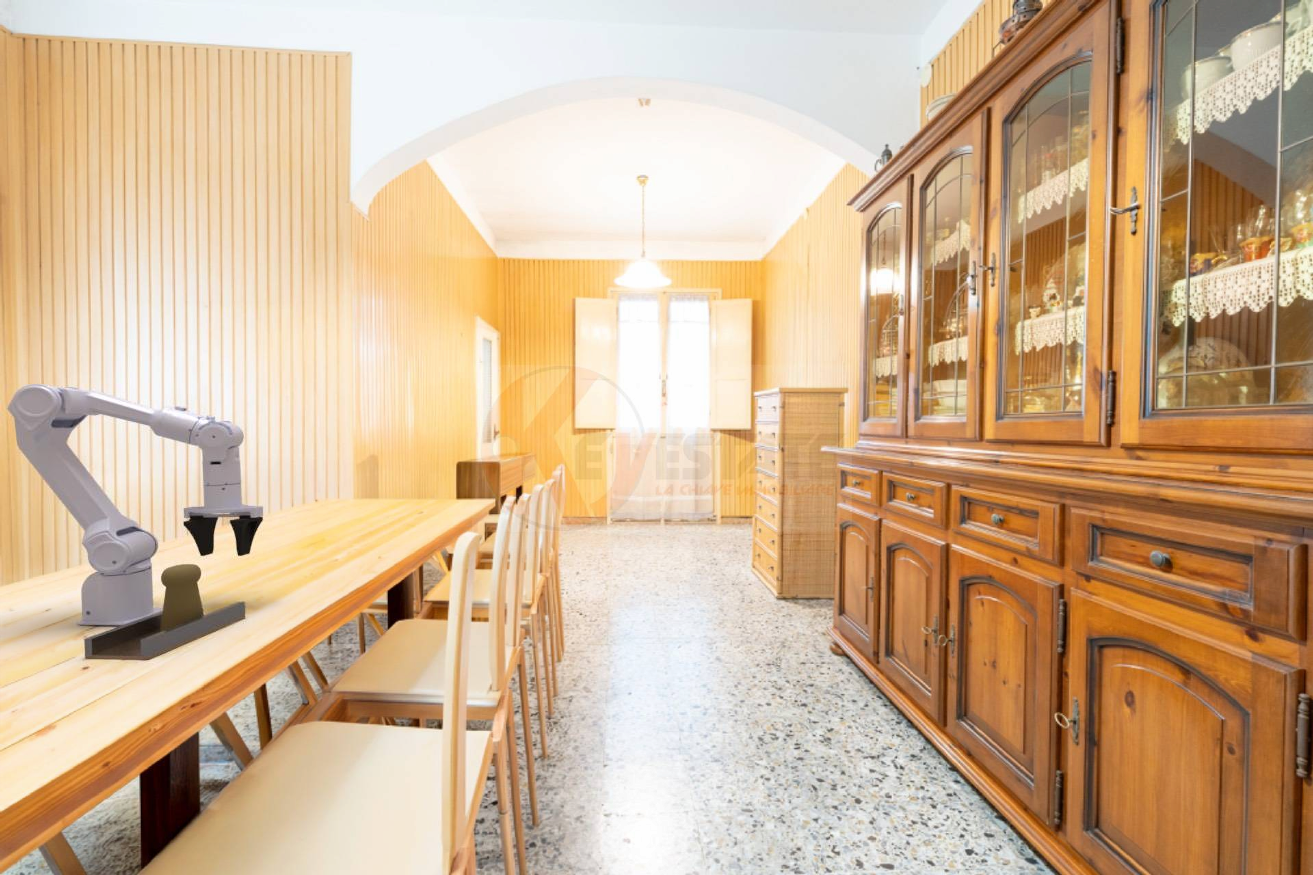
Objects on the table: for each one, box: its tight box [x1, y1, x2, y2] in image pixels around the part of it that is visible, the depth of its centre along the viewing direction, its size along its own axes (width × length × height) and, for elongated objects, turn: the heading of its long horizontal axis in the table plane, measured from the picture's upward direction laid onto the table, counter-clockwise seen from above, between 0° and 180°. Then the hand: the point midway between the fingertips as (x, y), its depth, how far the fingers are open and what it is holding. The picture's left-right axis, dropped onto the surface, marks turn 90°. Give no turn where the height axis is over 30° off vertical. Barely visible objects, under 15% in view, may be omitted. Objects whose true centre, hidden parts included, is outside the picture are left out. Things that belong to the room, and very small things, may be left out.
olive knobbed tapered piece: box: [160, 563, 205, 632], centre depth 95 cm, size 6×6×11 cm
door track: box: [83, 601, 246, 661], centre depth 93 cm, size 10×18×3 cm, turn 176°
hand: (225, 554), depth 107 cm, fingers open, 7 cm apart
